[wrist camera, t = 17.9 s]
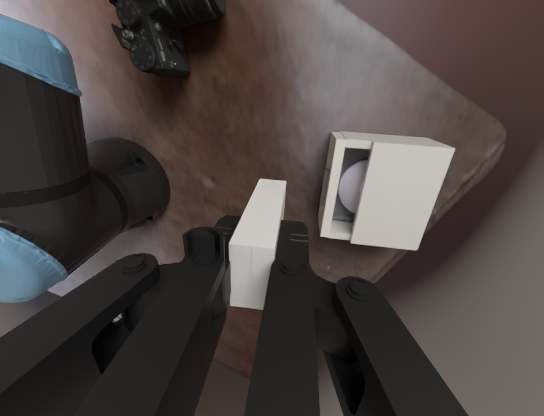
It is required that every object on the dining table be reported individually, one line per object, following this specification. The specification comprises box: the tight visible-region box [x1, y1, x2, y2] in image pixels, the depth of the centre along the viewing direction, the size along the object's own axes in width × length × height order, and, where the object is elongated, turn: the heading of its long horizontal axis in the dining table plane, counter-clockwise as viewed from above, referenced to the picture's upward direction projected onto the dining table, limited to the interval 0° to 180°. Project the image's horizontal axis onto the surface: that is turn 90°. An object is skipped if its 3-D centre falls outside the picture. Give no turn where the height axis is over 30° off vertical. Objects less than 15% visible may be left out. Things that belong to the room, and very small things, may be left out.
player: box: [328, 131, 455, 250], centre depth 35 cm, size 12×14×7 cm
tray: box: [318, 132, 370, 237], centre depth 35 cm, size 12×14×6 cm
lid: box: [338, 159, 368, 213], centre depth 35 cm, size 8×8×2 cm
